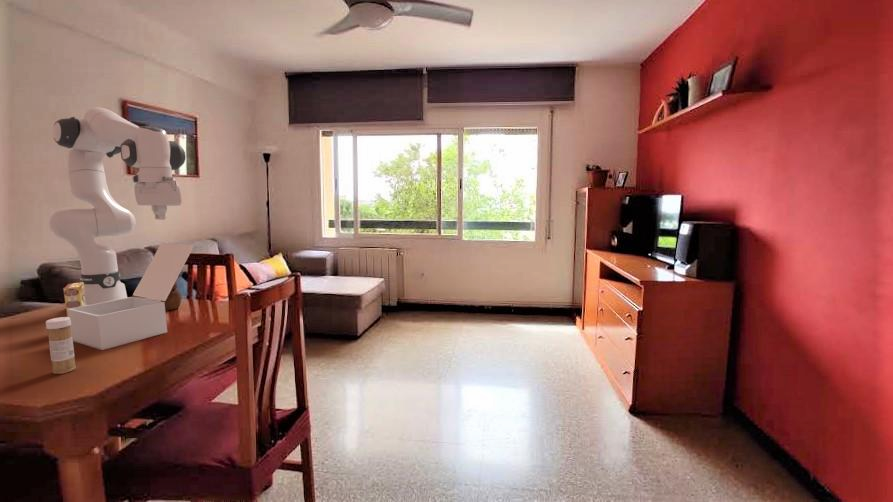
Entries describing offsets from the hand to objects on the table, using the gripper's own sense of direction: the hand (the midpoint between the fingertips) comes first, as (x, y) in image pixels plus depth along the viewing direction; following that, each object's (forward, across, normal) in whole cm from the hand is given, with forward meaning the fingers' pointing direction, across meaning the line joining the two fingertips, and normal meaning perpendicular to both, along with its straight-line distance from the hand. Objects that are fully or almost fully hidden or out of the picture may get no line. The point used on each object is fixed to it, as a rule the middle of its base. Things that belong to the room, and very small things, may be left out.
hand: (160, 219), depth 144 cm
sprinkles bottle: (+36, -18, +36) cm, 54 cm away
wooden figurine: (+36, +20, -12) cm, 43 cm away
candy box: (+36, +19, +18) cm, 44 cm away
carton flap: (+17, 0, +1) cm, 17 cm away
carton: (+36, 0, +15) cm, 39 cm away
